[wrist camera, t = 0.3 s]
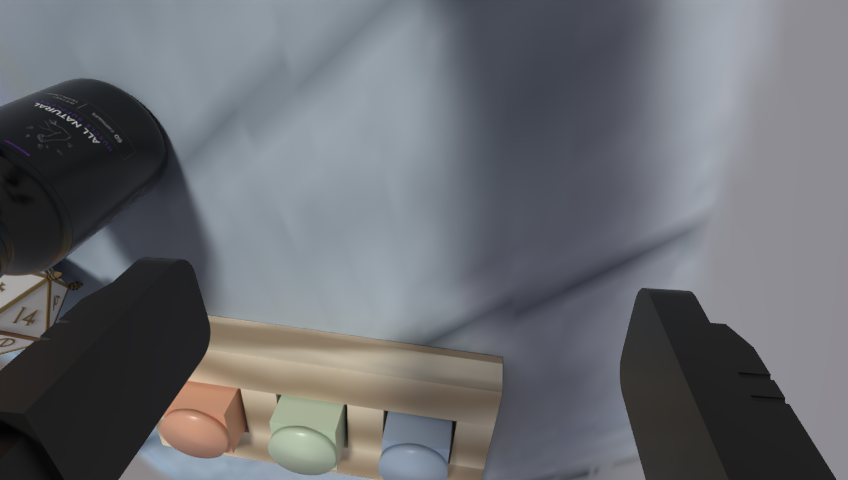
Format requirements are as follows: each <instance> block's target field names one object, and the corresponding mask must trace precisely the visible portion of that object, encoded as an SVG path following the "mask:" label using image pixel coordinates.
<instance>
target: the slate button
mask: <svg viewBox="0 0 848 480" xmlns="http://www.w3.org/2000/svg"><path fill="white" fill-rule="evenodd" d="M451 431H452V421H451V420H445V419H438V418H431V417H425V416H418V415H412V414H405V413H398V412H392V411H388V415H387V420H386V424H385V429H384V433H383V438H382V454H381V456H380V460H379V465H378V471H379V473H380V475H381V478H383V479H384V480H447V475H448V464H447V463H448V458H449V452H450V442H451Z"/></svg>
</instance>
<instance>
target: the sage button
mask: <svg viewBox="0 0 848 480" xmlns="http://www.w3.org/2000/svg"><path fill="white" fill-rule="evenodd" d="M270 429H271V435H272V437H271V439H270V442H269V444H268V452H269V454H270V456H271V457H272V459H273V460H274V461H275V462H276V463H278V464H279V465H280V466H282V467H283V468H285V469H287V470H290V471H292V472H295V473H299V474H304V475H320V474H324V473H327V472H328V471H330V470H336V471H337V469H338V465H339V462H340V458H341V455H342V451H343V448H344V444H345V440H346V410H345V404H339V403H332V402H326V401H319V400H312V399H306V398H299V397H293V396H286V395H281V397H280V399H279V402H278V404H277V406H276V408H275V411H274V413H273V415H272V418H271V420H270Z"/></svg>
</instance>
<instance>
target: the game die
mask: <svg viewBox="0 0 848 480" xmlns="http://www.w3.org/2000/svg"><path fill="white" fill-rule="evenodd" d="M61 275H62V273H60V272H58V271H56V270H55V269H54V268H53V267H52V268H50V269H48V270H45V271H43V272H40V273H36V274H31V275H23V276H7V275H3V276H2V277H1V278H0V355H1V354H4V353H8V352H12V351H16V350H19V349H23V348H27V347H28V346H29V345H30V344H31V343H33V342H34V341H39V340H40V336H41V335H42V334H43V333H44V332H45V331H46V330H47V329H49V328H50V327H51V326H52V325H53V324H54V323H55V322H56V320H57V317H58V315H59V312H60V310H61V307H62V305H63V302H64V300H65V297H66V295H67V292H68V290H69V289H71V290H75V289H76V290H78V288H80V287H81V286H82V284H79V283H78V282H75V283H71V284H69V285H68V284H67V283H66V282H65V280H64V279H63V278H62V277H61Z"/></svg>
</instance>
